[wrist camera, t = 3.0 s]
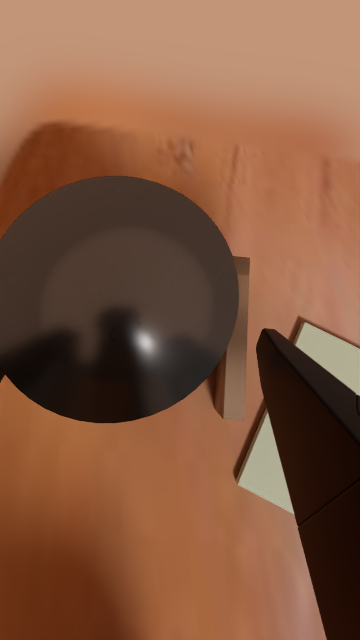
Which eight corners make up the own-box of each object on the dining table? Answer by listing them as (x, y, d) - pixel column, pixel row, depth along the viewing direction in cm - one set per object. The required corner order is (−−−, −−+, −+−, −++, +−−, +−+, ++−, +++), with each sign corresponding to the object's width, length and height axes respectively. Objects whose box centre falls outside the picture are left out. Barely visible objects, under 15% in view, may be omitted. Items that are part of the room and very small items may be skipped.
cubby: (231, 409, 17) (244, 420, 14) (71, 397, 16) (48, 405, 13) (237, 274, 18) (249, 257, 15) (91, 261, 18) (75, 242, 15)
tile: (403, 569, 15) (410, 576, 15) (235, 480, 16) (237, 484, 15) (452, 396, 17) (460, 398, 17) (301, 323, 18) (305, 322, 17)
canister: (171, 385, 17) (168, 474, 4) (113, 355, 17) (-73, 345, 4) (200, 326, 17) (277, 238, 5) (144, 298, 18) (68, 140, 5)
